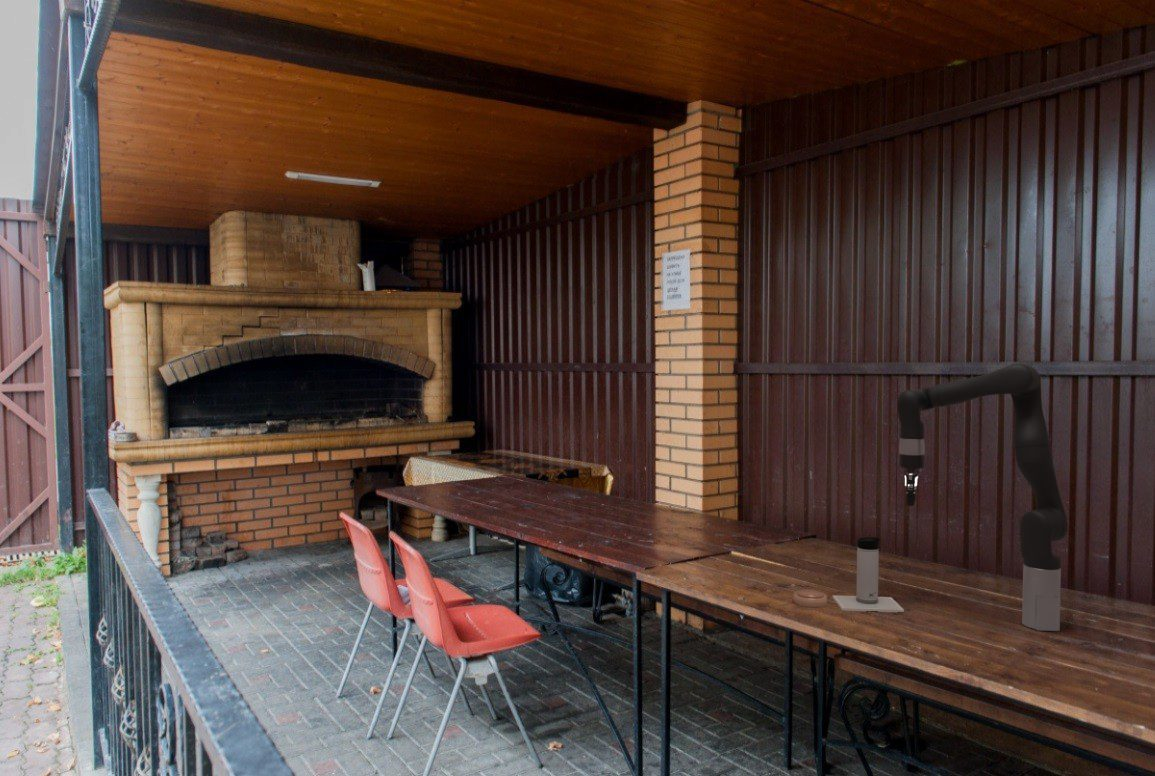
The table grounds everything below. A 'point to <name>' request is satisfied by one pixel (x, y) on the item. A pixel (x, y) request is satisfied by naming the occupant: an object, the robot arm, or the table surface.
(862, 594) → the travel mug
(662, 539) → the table surface
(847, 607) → the tile
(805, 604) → the tan round domed disc
